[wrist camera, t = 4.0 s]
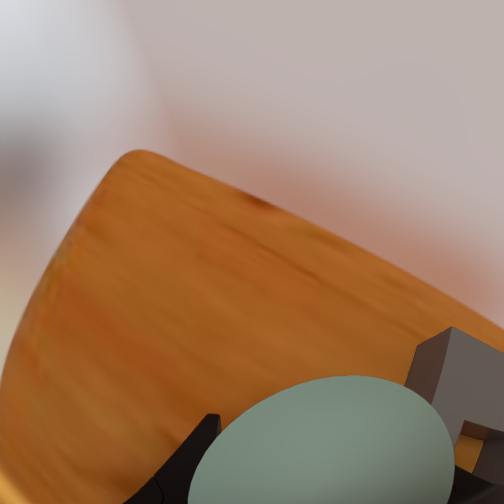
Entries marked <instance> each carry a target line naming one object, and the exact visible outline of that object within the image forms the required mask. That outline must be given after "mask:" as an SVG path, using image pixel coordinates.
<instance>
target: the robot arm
mask: <svg viewBox="0 0 504 504" xmlns="http://www.w3.org/2000/svg"><path fill="white" fill-rule="evenodd" d="M220 434H221V419H220V415H219V414H210V413H209V414H207V415H206V416H205V417H204V418H203V420H202V421H201V422H200V423H199V424H198V426H197V427H196V428H195V429H194V430H193V432H192V433H191V434H190V435H189V436H188V437H187V439H186V440H185V441H184V442H183V443H182V444H181V445H180V447H179V448H178V449H177V450H176V451H175V452H174V453H173V455H172V456H171V457H170V458H169V459H168V460H167V461H166V462H165V463H164V465H163V466H162V467H161V468H160V469H159V470H158V471H157V472H156V473H155V474H154V477H151V479H150V480H149V481H148V482H147V483H146V484H145V485H144V486H143V487H142V488H141V489H140V490H139V491H138V492H137V493H135V494H134V495H133V496H132V497H131V498H129V499H128V500H127V501H126V502H124V503H123V504H188V496H189V491H190V486H191V482H192V479H193V477H194V474H195V471H196V469H197V466H198V465H199V463H200V461H201V459H202V458H203V456H204V454H205V452H206V451H207V450H208V448H209V447H210V446H211V444H212V443H213V442H214V440H215V439H216V438H217V437H218V436H219V435H220ZM447 504H504V484H496V483H492V482H489V481H487V480H484V479H482V478H480V477H478V476H476V475H474V474H472V473H470V472H468V471H466V470H464V469H462V468H460V467H458V466H456V465H455V470H454V479H453V485H452V489H451V493H450V497H449V500H448V502H447Z"/></svg>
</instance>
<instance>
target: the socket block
mask: <svg viewBox="0 0 504 504" xmlns="http://www.w3.org/2000/svg"><path fill="white" fill-rule="evenodd" d="M404 387H406V388H408V389H410V390H412V391H414V392H415V393H417V394H418V395H419V396H421V397H422V398H424V399H425V400H426V401H427V402H428V403H429V404H430V405H431V406H432V407H433V408H434V409H435V410H436V412H437V413H438V414H439V416H440V417H441V418H442V420H443V422H444V424H445V426H446V428H447V430H448V432H449V435H450V438H451V441H452V446H453V450H454V448H455V445H456V442H457V440H458V437H459V434H462V435H466V436H469V437H473V438H477V439H481V440H484V441H485V442H484V445H483V447H482V450H481V453H480V456H479V458H478V461H477V463H476V466H475V468H474V471H473V473H472V474H474V475H476V476H478V477H480V478H482V479H484V480H487V481H489V482H492V483H496V484H504V353H502V352H500V351H499V350H497V349H495V348H493V347H491V346H489V345H487V344H485V343H483V342H482V341H480V340H478V339H476V338H474V337H472V336H470V335H468V334H466V333H464V332H462V331H460V330H458V329H456V328H455V327H453V326H452V327H450V328H448V329H446V330H445V331H443V332H441V333H439V334H438V335H436V336H434V337H432V338H430V339H429V340H427V341H425V342H423V343H421V344H419V345H418V346H417V349H416V352H415V356H414V359H413V362H412V365H411V368H410V371H409V374H408V377H407V380H406V383H405V386H404Z"/></svg>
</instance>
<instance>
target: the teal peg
mask: <svg viewBox="0 0 504 504" xmlns="http://www.w3.org/2000/svg"><path fill="white" fill-rule="evenodd" d="M454 470H455V464H454V451H453V446H452V441H451V438H450V435H449V432H448V430H447V428H446V426H445V424H444V422H443V420H442V418H441V417H440V416H439V414H438V413H437V412H436V410H435V409H434V408H433V407H432V406H431V405H430V404H429V403H428V402H427V401H426V400H425V399H424V398H422V397H421V396H419V395H418V394H417V393H415V392H414V391H412V390H410V389H408V388H406V387H404V386H402V385H400V384H397V383H394V382H391V381H388V380H385V379H380V378H374V377H368V376H335V377H329V378H323V379H316V380H313V381H309V382H306V383H302V384H298V385H296V386H293V387H291V388H288V389H285V390H283V391H280V392H278V393H276V394H274V395H272V396H270V397H268V398H266V399H264V400H262V401H261V402H259V403H257V404H256V405H254V406H253V407H251V408H249V409H248V410H247V411H245V412H244V413H243V414H242V415H240V416H239V417H238V418H237V419H235V420H234V421H233V422H232V423H230V424H229V425H228V426H227V428H226V429H225V430H224V431H223V432H222V433H221V434H220V435H219V436H218V437H217V438H216V439H215V440H214V442H213V443H212V444H211V446H210V447H209V448H208V450H207V451H206V452H205V454H204V456H203V458H202V459H201V461H200V463H199V465H198V466H197V469H196V471H195V474H194V477H193V479H192V482H191V486H190V491H189V496H188V504H447V502H448V500H449V497H450V493H451V489H452V485H453V479H454Z"/></svg>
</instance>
